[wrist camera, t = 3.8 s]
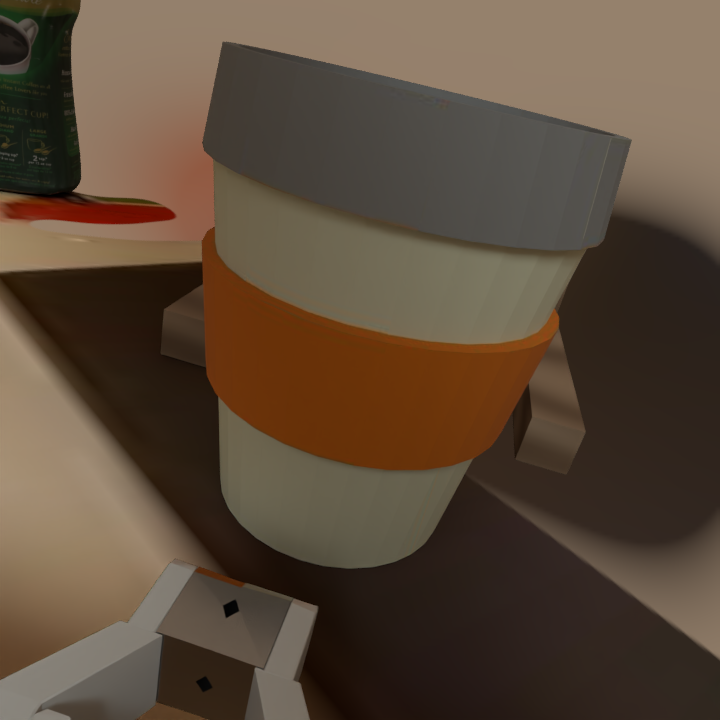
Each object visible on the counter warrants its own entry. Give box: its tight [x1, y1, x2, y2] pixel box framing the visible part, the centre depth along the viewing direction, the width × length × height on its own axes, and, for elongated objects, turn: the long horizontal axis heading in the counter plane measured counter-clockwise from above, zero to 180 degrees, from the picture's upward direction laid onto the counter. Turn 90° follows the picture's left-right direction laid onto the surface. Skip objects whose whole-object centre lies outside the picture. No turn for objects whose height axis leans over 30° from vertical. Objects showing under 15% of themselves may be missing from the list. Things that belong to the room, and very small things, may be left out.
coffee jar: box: [0, 0, 81, 194], centre depth 47 cm, size 10×8×19 cm
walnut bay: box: [161, 280, 586, 475], centre depth 37 cm, size 19×21×6 cm
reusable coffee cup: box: [202, 42, 632, 569], centre depth 21 cm, size 12×13×15 cm
